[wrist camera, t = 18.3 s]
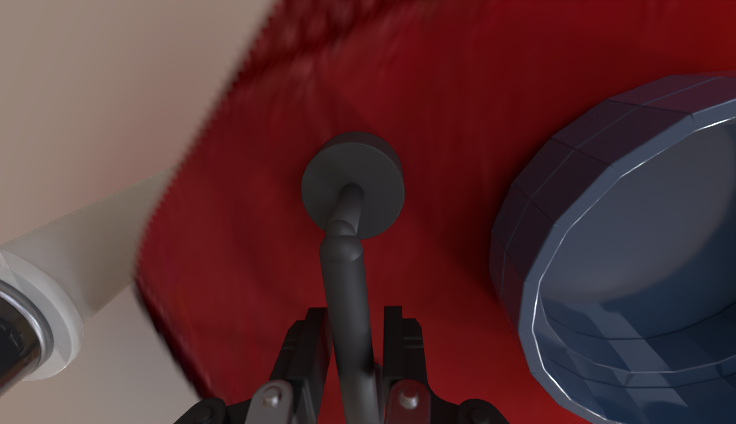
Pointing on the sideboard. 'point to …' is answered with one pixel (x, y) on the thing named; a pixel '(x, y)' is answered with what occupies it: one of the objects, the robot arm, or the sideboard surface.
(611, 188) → the bowl
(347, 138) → the door handle
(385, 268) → the sideboard surface
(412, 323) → the robot arm
